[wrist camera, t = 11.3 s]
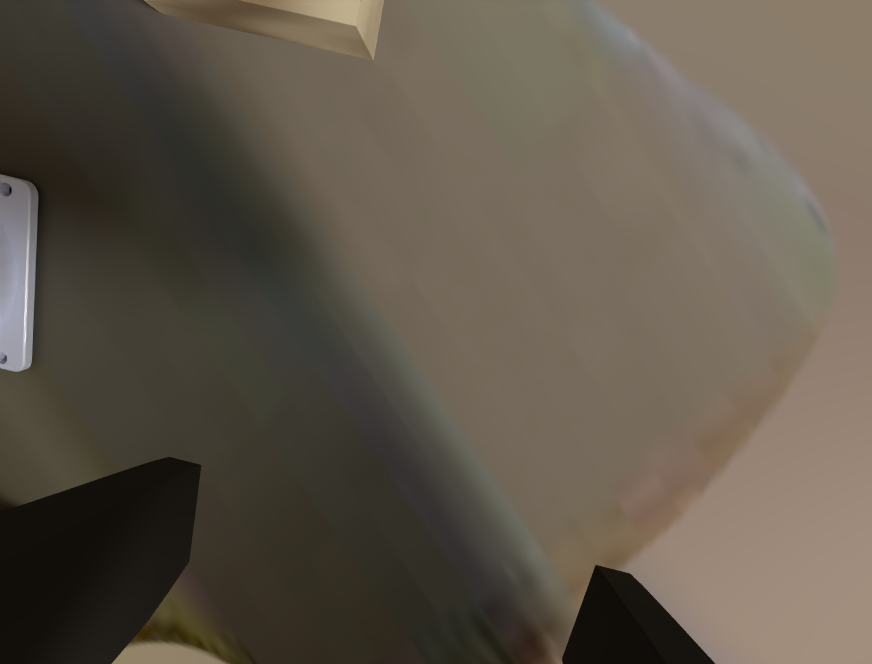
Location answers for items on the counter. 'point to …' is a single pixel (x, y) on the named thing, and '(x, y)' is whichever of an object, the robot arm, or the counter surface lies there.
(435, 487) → the counter surface
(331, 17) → the birch base
